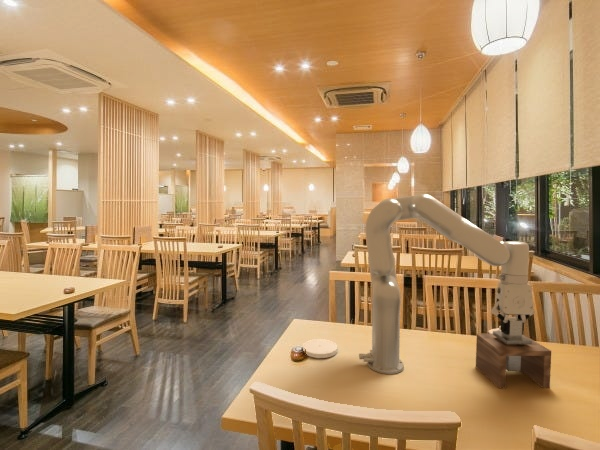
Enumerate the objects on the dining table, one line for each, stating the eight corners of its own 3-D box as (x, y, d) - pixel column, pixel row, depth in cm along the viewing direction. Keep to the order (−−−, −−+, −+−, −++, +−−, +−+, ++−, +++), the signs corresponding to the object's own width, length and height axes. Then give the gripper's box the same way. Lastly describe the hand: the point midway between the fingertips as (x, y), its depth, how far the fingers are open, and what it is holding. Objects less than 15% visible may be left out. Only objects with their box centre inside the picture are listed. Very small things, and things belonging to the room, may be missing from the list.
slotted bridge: (498, 388, 106) (500, 351, 105) (475, 366, 120) (476, 333, 119) (549, 388, 106) (551, 351, 105) (520, 366, 120) (521, 333, 119)
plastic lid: (336, 361, 125) (336, 355, 124) (299, 359, 127) (299, 352, 127) (338, 345, 138) (338, 339, 138) (305, 343, 141) (305, 337, 141)
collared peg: (505, 374, 108) (507, 323, 107) (491, 362, 116) (493, 314, 115) (530, 374, 108) (532, 323, 107) (514, 362, 116) (516, 314, 115)
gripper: (495, 281, 107) (493, 337, 108) (547, 281, 107) (545, 337, 108) (482, 276, 114) (480, 328, 115) (531, 276, 114) (529, 328, 115)
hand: (511, 332), depth 112 cm, fingers closed on collared peg, 4 cm apart
